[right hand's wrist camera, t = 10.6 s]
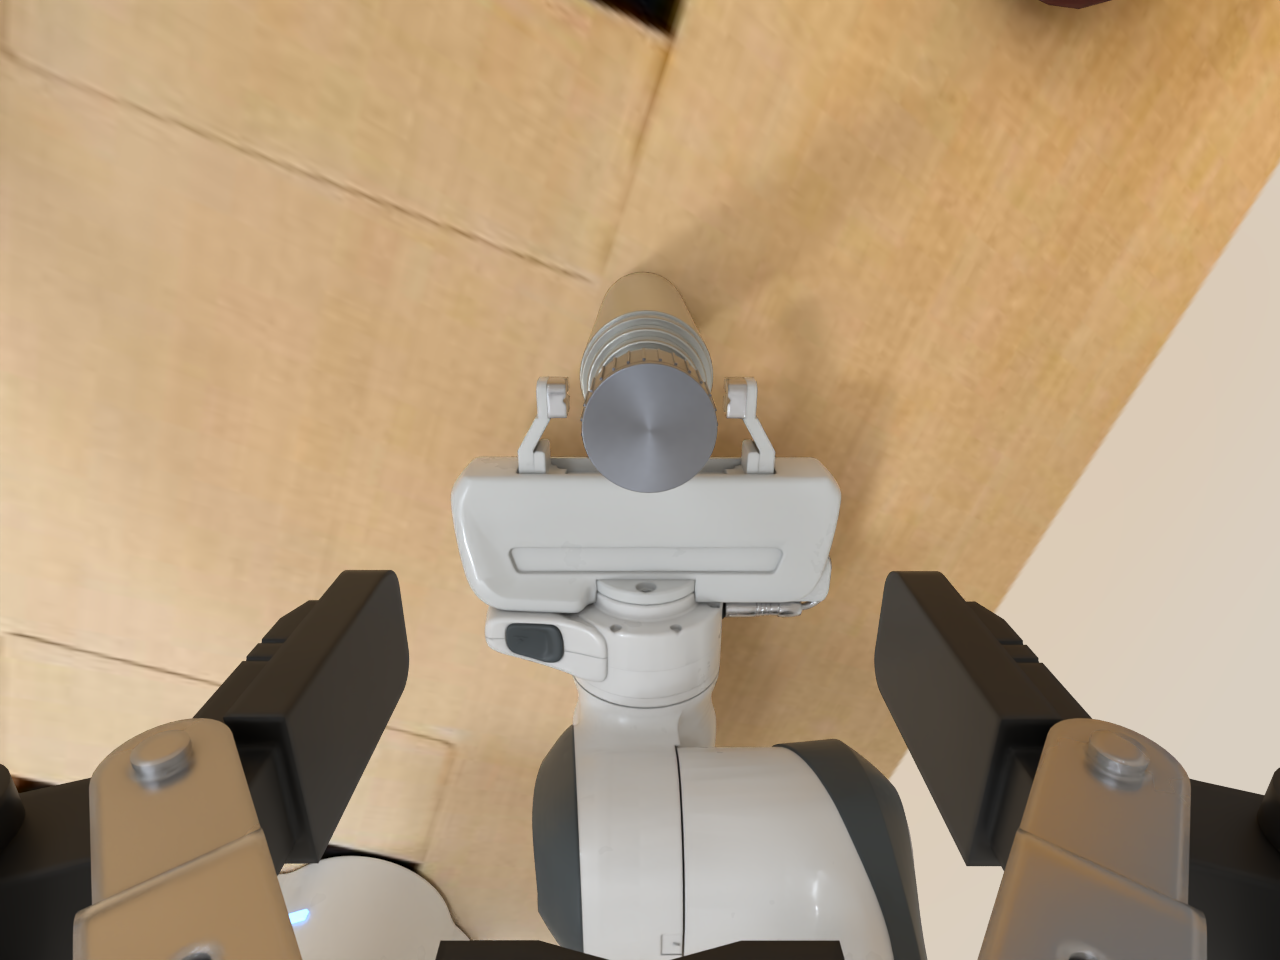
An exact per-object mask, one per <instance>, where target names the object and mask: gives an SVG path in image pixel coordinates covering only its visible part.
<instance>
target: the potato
mask: <svg viewBox="0 0 1280 960" xmlns="http://www.w3.org/2000/svg"><path fill="white" fill-rule="evenodd" d="M1040 1H1041V2H1044V3H1046V4H1048V5H1053V6H1061V7H1068V8H1076V9H1080V8H1084V7H1088V6H1092V5H1095V4H1099V3H1103V2H1106V1H1110V0H1040Z"/></svg>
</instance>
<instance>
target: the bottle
mask: <svg viewBox="0 0 1280 960" xmlns="http://www.w3.org/2000/svg"><path fill="white" fill-rule="evenodd" d="M642 348H645V350H646V349H651V350H657V348H659V349H660V351H665V352H668V353H671V354H672V352H674V353H675V355H676V356H678V357H680V358H681V359H683V360H688V362H689V364H690V365H691V366H692V367H693V368H694V369H695V370H697V369H698V371H699V373H700V376H701V378H702V380H703V382H705V381H706V383H707V385H708V388H709V390H710V393H711V389H712V383H713V367H712V361H711V358H710V354H709V352H708V349H707V347H706V345H705V343H704V341H703V339H702V337H701V335H700V333H699V331H698V329H697V327H696V325H695V323H694V321H693V319H692V317H691V315H690V313H689V311H688V309H687V307H686V305H685V303H684V301H683V299H682V297H681V295H680V293H679V292H678V290H677V289H676V288H675V287H674V285H673V284H672V283H670V282H669V281H668V280H667V279H665V278H663V277H661V276H659V275H657V274H653V273H648V272H638V273H632V274H629V275H627V276H624V277H623V278H621V279H619V280H618V281H616V282H615V283H614V284H613V285H612V286H611V287H610V289H609V290H608V291H607V293H606V295H605V297H604V299H603V302H602V304H601V307H600V310H599V313H598V315H597V318H596V321H595V324H594V327H593V329H592V332H591V335H590V338H589V340H588V343H587V346H586V349H585V351H584V354H583V358H582V361H581V367H580V386H581V390H582V395H583V397H584V401H585V397H586V394H587V391H590V388H591V384H592V380H593V378H596V377H597V375H598V374H599V373H600V372H601V368H602V367H603V366H604V367H605V366H606V365H608V364H609V363H610V362H611V361H613V358H614V357H616V358H618V357H620V356H622V355H624V354H626V353H627V351H630V352H632V351H637V350H642Z"/></svg>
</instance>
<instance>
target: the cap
mask: <svg viewBox="0 0 1280 960" xmlns="http://www.w3.org/2000/svg"><path fill="white" fill-rule="evenodd" d="M711 396H712V395H711V393H710V390H709V388H708V385H707V383H706V381H705V382H703V380H702V378H701V376H700V373H699V371H698V369H697V370H695V369H694V368H693V367H692V366H691V365H690V364H689V362H688V360H683V359H681V358H680V357H678V356H676V355H675V353H674V352H672V354H671V353H668V352H665V351H660V349H659V348H657V350H651V349H646V350H645V348H642V350H637V351H632V352H630V351H627V353H626V354H624V355H622V356H620V357H618V358H616V357H614V358H613V361H611V362H610V363H609V364H608V365H606V366H605V367H604V366H603V367H602V368H601V372H600V373H599V374H598V375H597V377H596V378H593V380H592V384H591V388H590V391H587V394H586V397H585V401H584V405H583V406H584V408H583V412H582V416H581V421H582V433H581V435H582V439H583V443H584V447H585V450H586V452H587V455H588V457H589V459H590V460H591V462H592V464H593V465H594V466H595V468H596V469H597V470H598V471H599V472H600V473H601V474H602V475H603V476H604V477H605V478H607V479H608V480H609V481H611V482H612V483H614V484H616V485H617V486H620V487H622V488H624V489H627V490H631V491H635V492H641V493H657V492H663V491H668V490H671V489H674V488H676V487H678V486H681V485H683V484H684V483H686V482H688V481H689V480H690V479H692V478H693V477H694V476H695V475H697V474H698V473H699V471H700V470H701V469H702V468H703V467H704V466H705V464H706V463H707V461H708V460H709V458H710V456H711V454H712V451H713V449H714V446H715V442H716V438H717V426H718V422H717V418H716V412H715V411H717V410H716V407H715V404H714V402H713V399H712V397H711Z"/></svg>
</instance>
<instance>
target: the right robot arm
mask: <svg viewBox="0 0 1280 960" xmlns="http://www.w3.org/2000/svg"><path fill="white" fill-rule="evenodd" d="M874 663H875V674H876V680H877V684H878V687H879V690H880V693H881V695H882V697H883V699H884V701H885V703H886V705H887V707H888V709H889V711H890V713H891V715H892V717H893V719H894V721H895V723H896V725H897V727H898V729H899V731H900V733H901V735H902V737H903V739H904V741H905V743H906V745H907V747H908V749H909V751H910V753H911V755H912V757H913V759H914V761H915V763H916V765H917V767H918V769H919V771H920V773H921V775H922V777H923V779H924V781H925V783H926V785H927V787H928V789H929V791H930V793H931V795H932V797H933V799H934V801H935V803H936V805H937V807H938V809H939V811H940V813H941V815H942V817H943V819H944V821H945V823H946V825H947V827H948V829H949V831H950V833H951V835H952V837H953V839H954V841H955V843H956V845H957V847H958V849H959V851H960V853H961V855H962V857H963V860H964V862H965V863H966V866H1001V867H1002V868H1003V870H1004V874H1003V878H1002V881H1001V884H1000V887H999V891H998V894H997V898H996V901H995V904H994V907H993V911H992V914H991V917H990V920H989V924H988V927H987V930H986V934H985V937H984V940H983V943H982V947H981V950H980V953H979V957H978V960H1280V768H1278V769H1277V770H1276V771H1275V772H1274V775H1273V777H1272V779H1271V782H1270V784H1269V786H1268V789H1267V791H1266V794H1265V795H1260V794H1255V793H1251V792H1246V791H1242V790H1237V789H1233V788H1228V787H1224V786H1219V785H1214V784H1210V783H1205V782H1201V781H1197V780H1192V779H1189V777H1188V775H1187V773H1186V771H1185V770H1184V768H1183V767H1182V766H1181V764H1180V763H1179V762H1178V761H1177V760H1176V759H1175V758H1174V757H1173V756H1172V755H1171V754H1170V753H1169V752H1167V751H1166V750H1165V749H1164V748H1162V747H1161V746H1159V745H1158V744H1157V743H1155V742H1153V741H1152V740H1150V739H1148V738H1147V737H1145V736H1143V735H1141V734H1139V733H1137V732H1135V731H1132V730H1130V729H1127V728H1125V727H1122V726H1120V725H1116V724H1113V723H1110V722H1105V721H1101V720H1095V719H1092V718H1091V717H1090V716H1089V715H1088V714H1087V712H1086V711H1085V710H1084V709H1083V708H1082V707H1081V706H1080V705H1079V703H1078V702H1077V701H1076V700H1075V699H1074V698H1073V697H1072V696H1071V694H1070V693H1069V692H1068V691H1067V690H1066V689H1065V688H1064V687H1063V685H1062V684H1061V683H1060V682H1059V681H1058V680H1057V679H1056V678H1055V676H1054V675H1053V674H1052V673H1051V672H1050V671H1049V670H1048V668H1047V667H1046V666H1045V665H1044V664H1043V663H1039V661H1038V657H1037V656H1036V655H1035V654H1034V653H1033V652H1032V650H1031V649H1030V648H1029V647H1028V646H1027V645H1023V640H1022V639H1021V638H1020V637H1019V636H1018V635H1017V634H1016V632H1015V631H1014V630H1013V629H1012V628H1011V627H1010V626H1009V625H1008V623H1007V622H1006V621H1005V620H1004V619H1002V618H1001V617H999V616H997V615H996V614H994V613H993V612H991V611H989V610H988V609H986V608H985V607H983V606H981V605H980V604H978V603H976V602H966V601H965V600H964V599H963V598H962V597H961V595H960V594H959V593H958V592H957V591H956V589H955V588H954V587H953V586H952V585H951V583H950V582H949V581H948V580H947V579H946V577H945V576H944V575H943V574H942V573H941V572H938V571H892V572H890V573H889V575H888V576H887V578H886V582H885V586H884V593H883V599H882V606H881V613H880V620H879V627H878V634H877V641H876V647H875V658H874ZM408 669H409V650H408V642H407V635H406V629H405V622H404V615H403V608H402V601H401V594H400V587H399V582H398V578H397V576H396V574H395V572H394V571H392V570H345V571H343V572H342V573H341V574H340V575H339V576H338V578H337V579H336V580H335V581H334V582H333V584H332V585H331V586H330V587H329V588H328V590H327V591H326V592H325V593H324V595H323V596H322V597H321V598H320V599H319V600H309V601H307V602H306V603H304V604H303V605H301V606H299V607H298V608H296V609H294V610H293V611H291V612H290V613H288V614H286V615H285V616H283V617H282V618H280V619H279V620H278V622H277V623H276V624H275V625H274V626H273V627H272V628H271V629H270V631H269V632H268V633H267V634H266V635H265V636H264V637H263V639H262V643H258V644H257V645H256V647H255V648H254V649H253V650H252V651H251V652H250V653H249V654H248V656H247V660H246V661H242V662H241V664H240V665H239V666H238V667H237V668H236V669H235V670H234V672H233V673H232V674H231V675H230V676H229V677H228V678H227V679H226V681H225V682H224V683H223V684H222V685H221V686H220V687H219V689H218V690H217V691H216V692H215V693H214V694H213V695H212V697H211V698H210V699H209V700H208V701H207V702H206V703H205V704H204V706H203V707H202V708H201V709H200V710H199V711H198V712H197V714H196V715H195V716H194V717H193V718H192V719H185V720H179V721H174V722H170V723H167V724H164V725H160V726H158V727H155V728H153V729H150V730H147V731H145V732H143V733H141V734H139V735H137V736H135V737H133V738H132V739H130V740H128V741H127V742H125V743H123V744H122V745H121V746H119V747H118V748H116V749H115V750H114V751H113V752H111V753H110V754H109V755H108V756H107V757H106V758H105V759H104V760H103V761H102V762H101V763H100V764H99V765H98V767H97V768H96V770H95V771H94V773H93V775H92V777H91V778H88V779H83V780H79V781H74V782H70V783H65V784H60V785H56V786H51V787H47V788H42V789H38V790H33V791H29V792H24V793H19V794H18V792H17V789H16V787H15V785H14V782H13V780H12V778H11V775H10V773H9V770H8V769H7V768H6V767H5V766H4V765H2V764H0V960H302V957H301V953H300V950H299V947H298V943H297V940H296V937H295V934H294V930H293V927H292V924H291V920H290V917H289V914H288V911H287V907H286V904H285V901H284V897H283V894H282V891H281V887H280V884H279V881H278V878H277V876H278V874H279V872H280V871H281V869H282V867H283V865H284V863H319V861H320V859H321V857H322V855H323V853H324V851H325V849H326V847H327V845H328V843H329V841H330V839H331V837H332V835H333V833H334V831H335V829H336V827H337V825H338V823H339V821H340V819H341V817H342V815H343V813H344V811H345V809H346V806H347V804H348V802H349V800H350V798H351V796H352V794H353V792H354V790H355V788H356V786H357V784H358V782H359V780H360V778H361V776H362V774H363V772H364V770H365V768H366V766H367V764H368V762H369V760H370V758H371V756H372V754H373V752H374V750H375V748H376V745H377V743H378V741H379V739H380V737H381V735H382V733H383V731H384V729H385V727H386V725H387V723H388V721H389V719H390V717H391V715H392V713H393V711H394V709H395V707H396V705H397V703H398V701H399V699H400V697H401V695H402V693H403V690H404V688H405V685H406V681H407V676H408ZM435 960H608V959H605V958H601V957H597V956H594V955H590V954H586V953H583V952H579V951H575V950H572V949H568V948H564V947H561V946H557V945H553V944H550V943H546V942H542V941H539V940H440V944H439V948H438V951H437V955H436V959H435ZM672 960H845V959H844V955H843V951H842V948H841V944H840V940H741V941H738V942H734V943H730V944H727V945H723V946H719V947H716V948H712V949H708V950H705V951H701V952H697V953H694V954H690V955H686V956H683V957H679V958H675V959H672Z"/></svg>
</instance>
